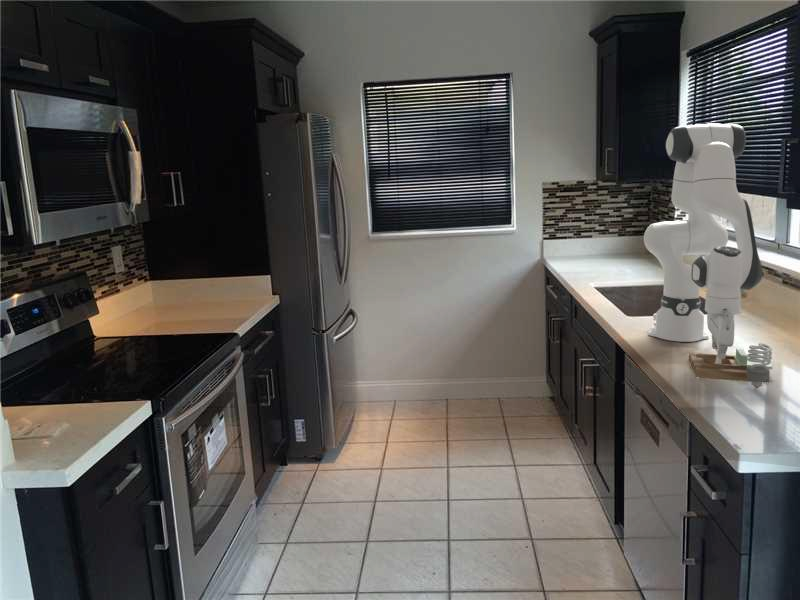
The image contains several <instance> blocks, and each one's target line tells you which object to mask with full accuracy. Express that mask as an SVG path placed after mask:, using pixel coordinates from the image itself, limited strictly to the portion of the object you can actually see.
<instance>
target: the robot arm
mask: <svg viewBox="0 0 800 600" xmlns="http://www.w3.org/2000/svg"><path fill="white" fill-rule="evenodd" d="M666 138H667V139H666V141H665V149H666V154H667V156H668V158H669V159H670V160H672V161H674V162H676V163H675V167H674V173H673V178H672V179H673V181H672V187H671V188H672V189H671V204H672V205H673V206H674V207H675V208H676V209H678V210H680V211H682V212H683V213H686V214H687V215H688V219H687V220H680V221H679V220H670V221H669V220H668V221H667V220H664V221H659V222H655V223H651V224H649V226H647V228H646V230H645V231H644V234H643V244H644V246H645V248H646V250H648V252H649V253H651V254H652V255H653V256H654V257H655V258H656V259H657V260H658V262H659V264H660V266H661V268H662V270H663V271H662V272H663V273H662V274H663V294H662V296H661V298H660V305H661V307H660V308H659V309H658V310H657V311H656V313H653V317H652V318H653V321H654V322H653V324H652V326H651V328H650V329H649V331H648V336H650V337H654V338H655V337H656V338H659V339H661V340H665V341H670V342H681V343H682V342H683V343H685V342H687V343H689V342H698V341H702V340H708V339H709V334H708V333H706V332H705V331H704V329H705V328H704V327H705V326H704V324H705V314H704V312H702V311H701V309H700V307H701V302H702V301H701V296H700V292H701V291H700V288H703V289H707V290H706V292H705V300H704V301H705V303H704V311H705V312H706V315H707V316H706V319H707V321H706V322H707V324H706V325H707V329H708V332H710V334H711V341H712V342H711V348H712V349H713V350H716V349H718V347H717V343H718V345H719V350H718V352H717V353H718V358H719V359H725V357H726V355H727V351H728V347H729V348H730V347H733V345H734V342H735V326H736V325H735V315H736V316H737V315H739V314H740V311H741V304H742V303H741V302H742V292H741V290H742V291H750V290H752V289H753V288H755V287H756V286H757V285H758V284H759V283H761V281H762V280H763V274H764V273H763V266H762V262H761V260H760V256H759V252H758V247H757V242H756V241H757V240H756V236H755V229H754V223H753V218H752V213H751V209H750V205H749V203H748V201H747V200H746V199H744V198H743V197H742V196H741V195H740V193H739V191H738V187H737V180H736V179H737V171H736V161H735V159H737V158H739V157H740V156H741V155H742V154H743V153H744V151H745V148H746V144H747V135H746V131H745V129H744V127H743V126H741V125H739V124H735V123H728V124H722V123H706V124H704V123H703V124H694V125H688V126H686V125H680V126H676V127H673V128H672V129H671V130H670V131H669V133H668V135H667V137H666ZM715 215H716V216H718V217H720V218H723V219H725V220H726V221H728V222H729V223H730V224H731V225H732V227H733V229H734V235H735V240H736V245H737V247H732V246H727V244H728V242H729V232H728V230H727V228H726V227H725V225H724V224H723V223H722V222H721V221H719V220H718V219H717V218H716V217H715ZM686 255H689V256H691V255H695V256H697V255H698V256H699V257H698V258H696V259H695V260H694V261H693V263H692V265H690V264H687V263H686V262H684V256H686Z"/></svg>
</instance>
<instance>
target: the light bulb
mask: <svg viewBox="0 0 800 600" xmlns="http://www.w3.org/2000/svg"><path fill="white" fill-rule="evenodd" d="M748 348H749V349H748V351H747V356H748V357H750V358H748V359H747V360H748V361H750V362H757V363H762V364H753V365H752V366H748V367H747V378H748V379H749V380H751V382H750V384H751V385H752V386H753V387H754V388H756V389H758V388H761V387H762V386H763V383H765V381H768V378H769V379H770V375H771V373H770V370H771V369H768V368H766V366H767V365H769V364H771V363H772V359H773V357H772V356H773V348H772V346H770V345H768V344H765V343H761V342H759V343H758V345H753V344H751V345H749V347H748ZM757 358H762V360H761V359H757ZM765 362H767V363H765ZM769 374H770V375H769Z"/></svg>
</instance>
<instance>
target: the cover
mask: <svg viewBox="0 0 800 600" xmlns="http://www.w3.org/2000/svg"><path fill="white" fill-rule="evenodd" d="M747 355H748V353H746V351H745V350H744V349H743V348H738V347H737V348H736V349H735V355H733V356H734V359H735V361H736V362H737V364H738V365H744V366H752V365H753V364H762V363H757V362H750V361H748V360H747V359H748V358H750V357H748V356H747ZM757 359H761V360H762V358H757ZM765 363H767V362H765ZM766 368H768V369H769V370H773V366H772V364H771V363H770V364H769V365H767V366H766Z"/></svg>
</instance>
